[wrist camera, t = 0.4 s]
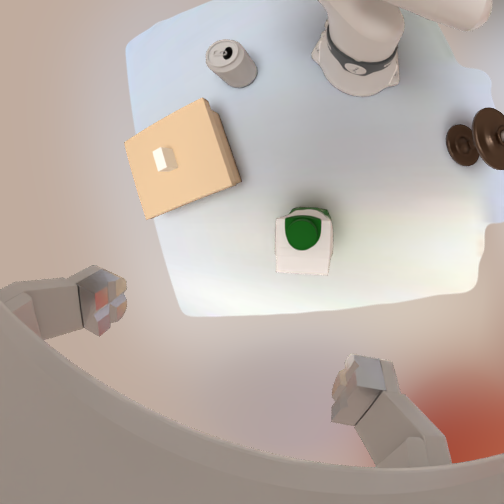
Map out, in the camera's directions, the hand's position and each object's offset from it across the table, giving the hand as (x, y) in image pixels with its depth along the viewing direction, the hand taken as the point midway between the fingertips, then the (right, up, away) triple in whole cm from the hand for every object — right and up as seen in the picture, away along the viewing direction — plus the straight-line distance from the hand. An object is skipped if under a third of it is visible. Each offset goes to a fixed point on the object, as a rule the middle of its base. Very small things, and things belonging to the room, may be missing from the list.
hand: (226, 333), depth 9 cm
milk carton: (+12, +8, +45) cm, 48 cm away
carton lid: (-14, +21, +41) cm, 48 cm away
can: (-1, +41, +40) cm, 57 cm away
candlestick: (+45, +25, +32) cm, 61 cm away
